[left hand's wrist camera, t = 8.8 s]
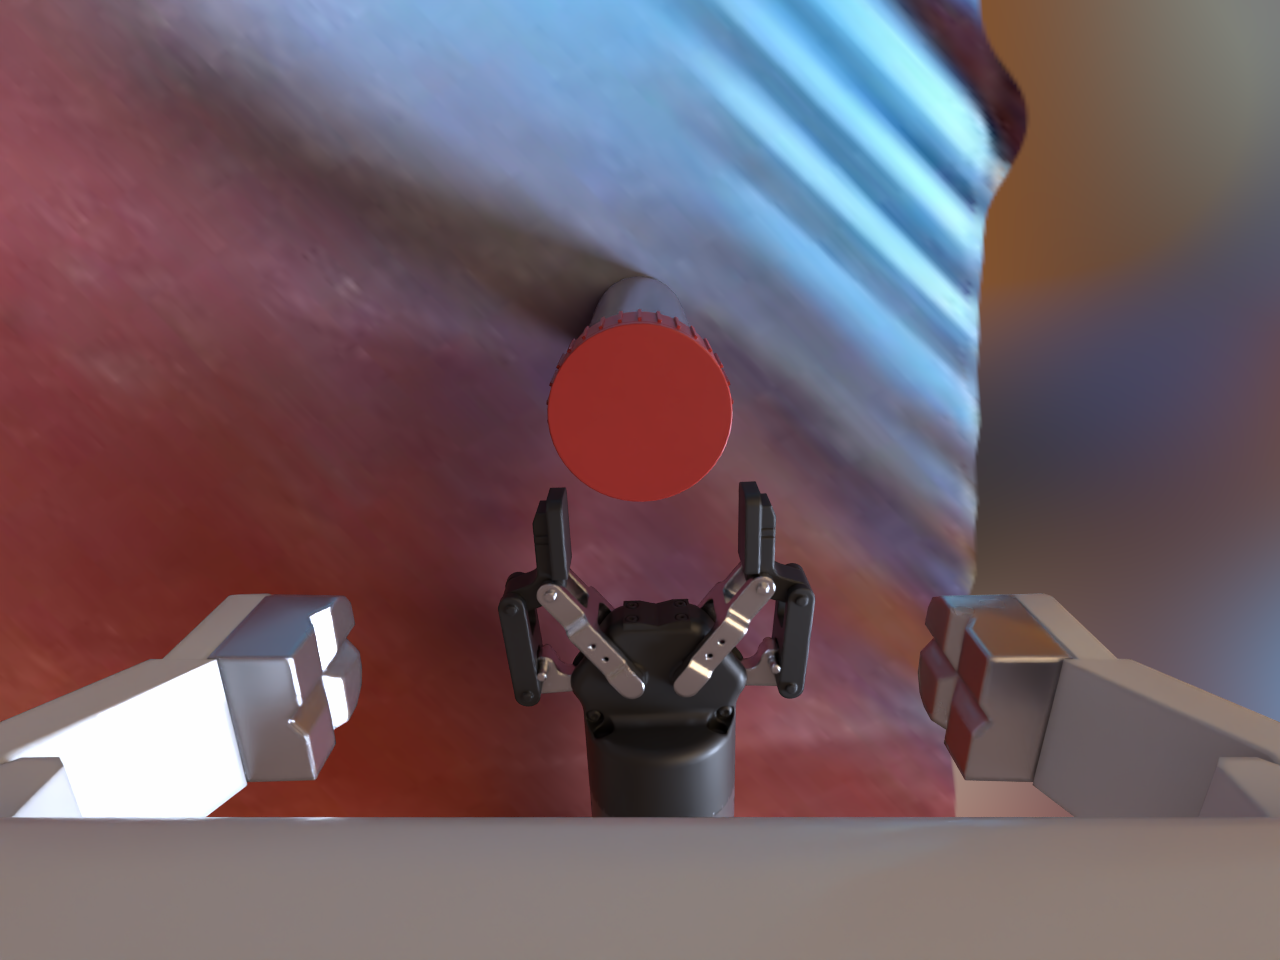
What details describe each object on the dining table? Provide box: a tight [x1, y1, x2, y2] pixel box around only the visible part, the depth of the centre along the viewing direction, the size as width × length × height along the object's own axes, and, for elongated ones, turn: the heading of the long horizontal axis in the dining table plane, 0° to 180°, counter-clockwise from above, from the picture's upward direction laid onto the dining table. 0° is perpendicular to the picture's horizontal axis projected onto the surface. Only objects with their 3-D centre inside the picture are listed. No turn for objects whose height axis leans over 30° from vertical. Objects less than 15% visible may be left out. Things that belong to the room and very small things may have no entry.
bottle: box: [589, 277, 690, 328], centre depth 28 cm, size 4×4×16 cm
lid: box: [547, 309, 733, 501], centre depth 22 cm, size 5×5×2 cm
